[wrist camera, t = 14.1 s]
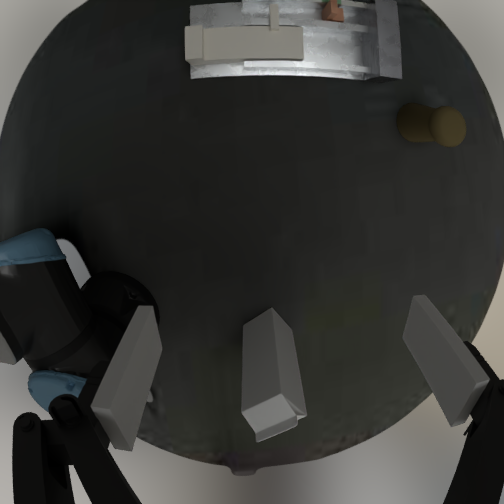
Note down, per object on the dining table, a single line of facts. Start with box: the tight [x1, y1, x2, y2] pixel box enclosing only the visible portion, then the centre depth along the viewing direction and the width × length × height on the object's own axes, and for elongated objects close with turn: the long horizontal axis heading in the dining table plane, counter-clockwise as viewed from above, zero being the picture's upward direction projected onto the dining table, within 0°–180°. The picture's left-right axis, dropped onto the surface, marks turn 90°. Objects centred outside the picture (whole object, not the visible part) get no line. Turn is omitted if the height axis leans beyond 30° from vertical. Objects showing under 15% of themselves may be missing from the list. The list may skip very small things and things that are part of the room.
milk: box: [241, 307, 307, 442], centre depth 44 cm, size 6×6×22 cm
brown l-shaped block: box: [322, 0, 344, 23], centre depth 31 cm, size 2×4×5 cm, turn 2°
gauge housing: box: [190, 0, 402, 83], centre depth 33 cm, size 26×11×7 cm, turn 91°
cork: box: [397, 103, 466, 147], centre depth 36 cm, size 6×6×11 cm
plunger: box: [185, 4, 304, 66], centre depth 33 cm, size 14×7×5 cm, turn 91°
